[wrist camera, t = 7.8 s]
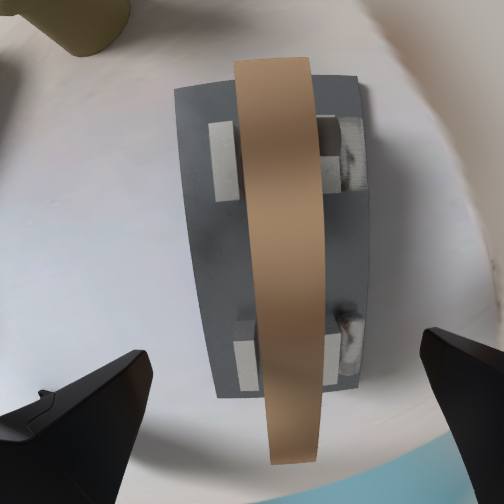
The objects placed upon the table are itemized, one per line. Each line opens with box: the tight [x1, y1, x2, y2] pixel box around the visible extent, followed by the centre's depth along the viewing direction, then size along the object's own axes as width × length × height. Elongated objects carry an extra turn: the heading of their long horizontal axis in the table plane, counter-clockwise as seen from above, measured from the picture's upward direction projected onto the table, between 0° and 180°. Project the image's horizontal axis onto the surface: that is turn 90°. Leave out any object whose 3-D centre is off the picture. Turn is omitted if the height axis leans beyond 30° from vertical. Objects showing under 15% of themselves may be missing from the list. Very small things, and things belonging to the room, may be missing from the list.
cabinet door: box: [234, 57, 342, 465], centre depth 14 cm, size 18×4×8 cm, turn 5°
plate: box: [174, 75, 369, 398], centre depth 17 cm, size 22×11×4 cm, turn 5°
